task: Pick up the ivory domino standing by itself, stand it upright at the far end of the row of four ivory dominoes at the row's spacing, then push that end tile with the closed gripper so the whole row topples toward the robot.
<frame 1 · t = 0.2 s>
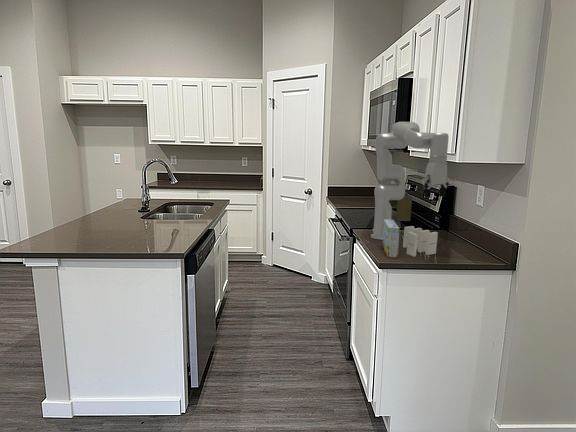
hand: (434, 197, 189), 30 cm above the worktop, tool pointing down, fingers open, 9 cm apart
domino d: (430, 254, 203), on the worktop
domino e: (411, 254, 201), on the worktop
domino b: (415, 249, 212), on the worktop
domino a: (407, 246, 216), on the worktop
domino c: (422, 251, 208), on the worktop
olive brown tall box: (403, 219, 294), on the worktop
snack box: (389, 252, 205), on the worktop
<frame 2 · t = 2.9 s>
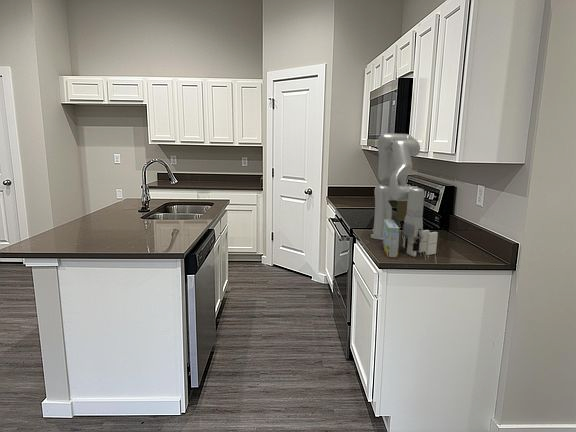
hand: (411, 248, 200), 3 cm above the worktop, tool pointing down, fingers closed on domino e, 5 cm apart
domino e: (411, 254, 201), on the worktop, touching gripper
everything else where it was.
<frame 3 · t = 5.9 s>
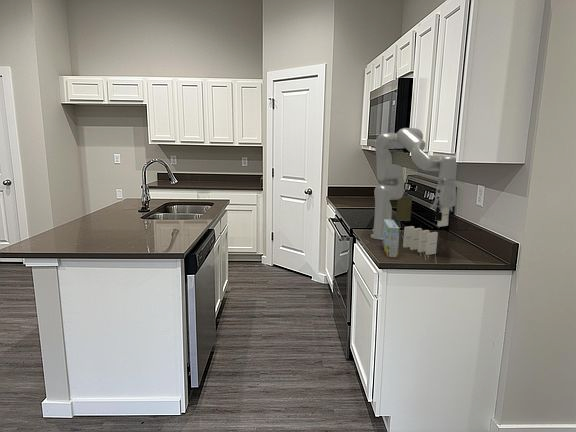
hand: (443, 219, 195), 19 cm above the worktop, tool pointing down, fingers closed on domino e, 5 cm apart
domino e: (442, 225, 196), point 16 cm above the worktop, touching gripper
everything else where it was.
when the fingers open (4 cm above the worktop, at t = 8.9 s): domino e stays where it is, on the worktop.
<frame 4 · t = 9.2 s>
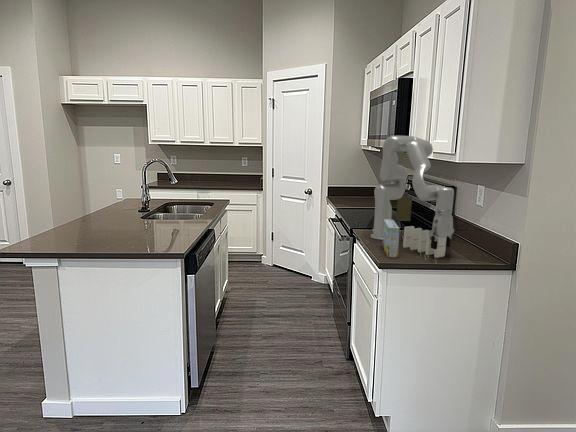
hand: (440, 247, 198), 5 cm above the worktop, tool pointing down, fingers open, 9 cm apart
domino e: (439, 256, 199), on the worktop
everything else where it was.
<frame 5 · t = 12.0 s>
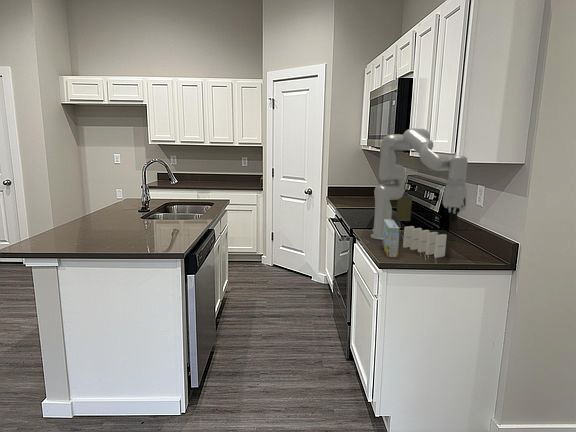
hand: (452, 221, 190), 19 cm above the worktop, tool pointing down, fingers closed
nothing on the worktop moved.
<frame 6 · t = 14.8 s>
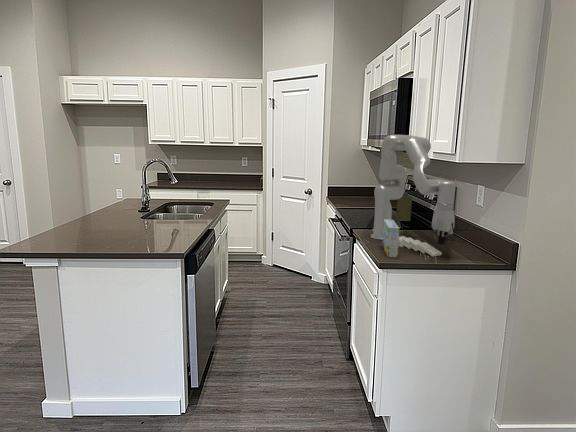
hand: (441, 243, 197), 7 cm above the worktop, tool pointing down, fingers closed
domino d: (428, 252, 204), point 1 cm above the worktop, tilted 73°, touching domino c, domino e
domino e: (437, 254, 200), point 1 cm above the worktop, tilted 74°, touching domino d
domino b: (413, 247, 213), point 1 cm above the worktop, tilted 75°, touching domino a, domino c
domino a: (406, 245, 217), point 1 cm above the worktop, tilted 89°, touching domino b
domino c: (420, 249, 209), point 1 cm above the worktop, tilted 73°, touching domino b, domino d
everything else where it was.
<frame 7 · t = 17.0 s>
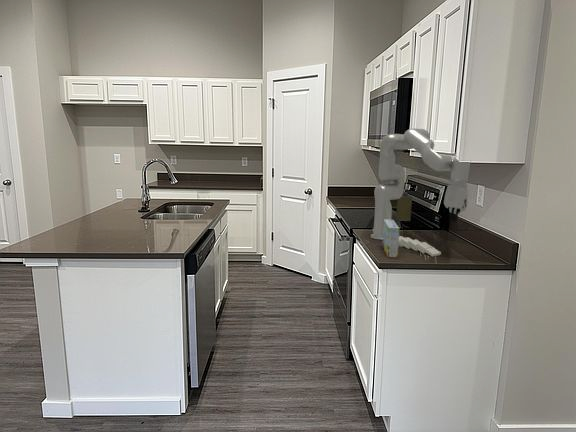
hand: (453, 221, 194), 18 cm above the worktop, tool pointing down, fingers closed
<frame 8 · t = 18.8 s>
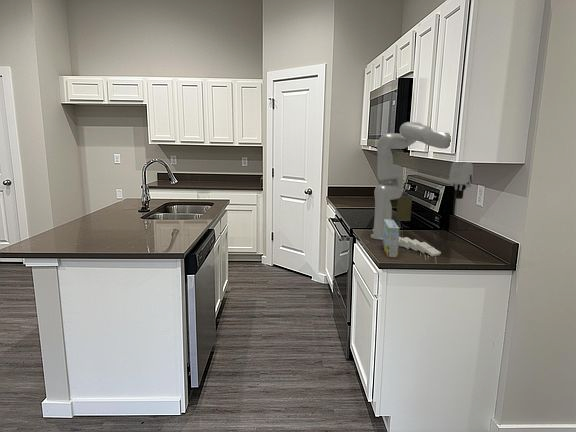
hand: (459, 198, 194), 29 cm above the worktop, tool pointing down, fingers closed
domino c: (420, 249, 209), point 1 cm above the worktop, tilted 73°, touching domino b, domino d
at the end: domino a tilted 89°; domino e tilted 74°; domino e inside the target area (1.9 cm from its centre), point 0.6 cm above the worktop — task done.
